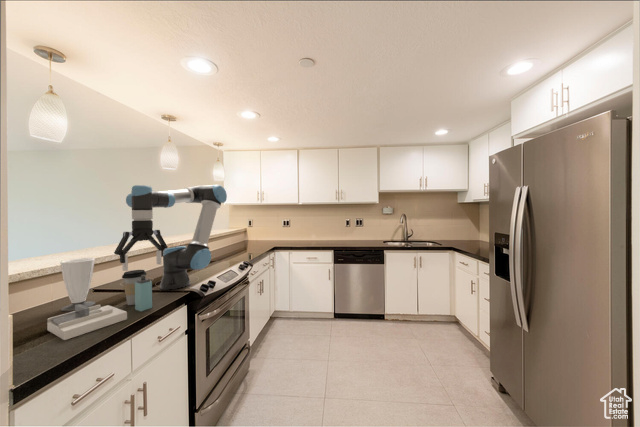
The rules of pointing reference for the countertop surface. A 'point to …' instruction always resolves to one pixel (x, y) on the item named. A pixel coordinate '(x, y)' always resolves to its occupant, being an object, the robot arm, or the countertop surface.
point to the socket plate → (87, 321)
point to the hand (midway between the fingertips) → (143, 267)
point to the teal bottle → (143, 294)
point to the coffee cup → (131, 284)
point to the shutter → (73, 314)
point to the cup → (77, 281)
